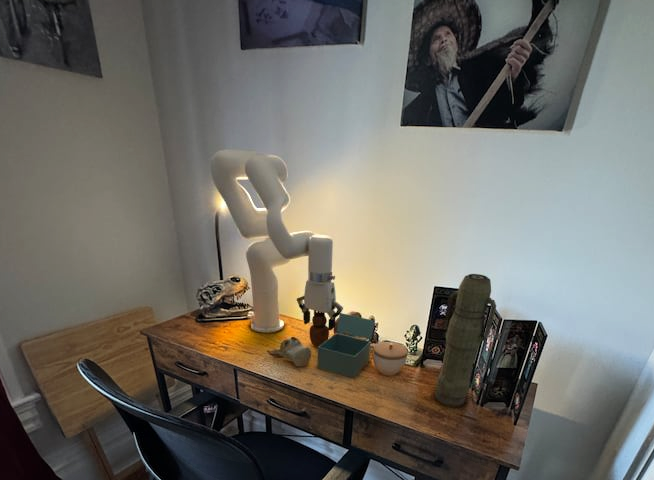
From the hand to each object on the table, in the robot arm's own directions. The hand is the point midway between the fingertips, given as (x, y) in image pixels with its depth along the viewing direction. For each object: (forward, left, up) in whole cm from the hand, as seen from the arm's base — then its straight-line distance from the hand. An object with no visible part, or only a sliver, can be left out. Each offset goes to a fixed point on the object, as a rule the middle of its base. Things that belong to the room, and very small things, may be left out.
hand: (319, 325), depth 131 cm
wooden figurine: (0, 0, -7) cm, 7 cm away
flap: (+14, -1, +4) cm, 15 cm away
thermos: (+49, -11, -7) cm, 51 cm away
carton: (+14, -9, -7) cm, 18 cm away
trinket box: (+28, -5, -7) cm, 29 cm away
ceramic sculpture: (-2, -15, -7) cm, 16 cm away
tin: (+5, +13, -7) cm, 16 cm away
